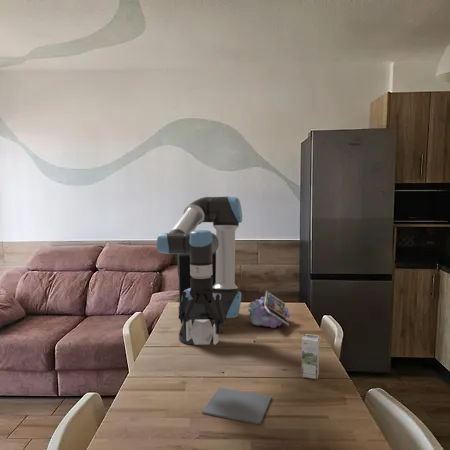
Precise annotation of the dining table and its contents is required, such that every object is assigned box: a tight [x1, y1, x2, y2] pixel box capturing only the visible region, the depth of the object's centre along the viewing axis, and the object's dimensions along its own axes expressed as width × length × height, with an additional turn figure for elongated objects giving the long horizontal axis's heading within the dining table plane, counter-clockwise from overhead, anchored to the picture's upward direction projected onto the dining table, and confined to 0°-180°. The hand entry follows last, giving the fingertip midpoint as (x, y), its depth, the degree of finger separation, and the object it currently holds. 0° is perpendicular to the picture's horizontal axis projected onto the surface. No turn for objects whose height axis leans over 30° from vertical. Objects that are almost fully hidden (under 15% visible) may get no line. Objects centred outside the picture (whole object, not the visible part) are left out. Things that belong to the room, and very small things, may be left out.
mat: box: [201, 387, 272, 425], centre depth 122 cm, size 18×15×1 cm
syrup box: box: [301, 333, 320, 380], centre depth 140 cm, size 6×6×14 cm
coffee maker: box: [176, 251, 228, 323], centre depth 208 cm, size 28×20×35 cm
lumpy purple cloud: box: [247, 290, 292, 329], centre depth 195 cm, size 20×22×18 cm
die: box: [190, 319, 213, 346], centre depth 132 cm, size 8×9×10 cm
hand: (202, 341), depth 133 cm, fingers closed on die, 9 cm apart
